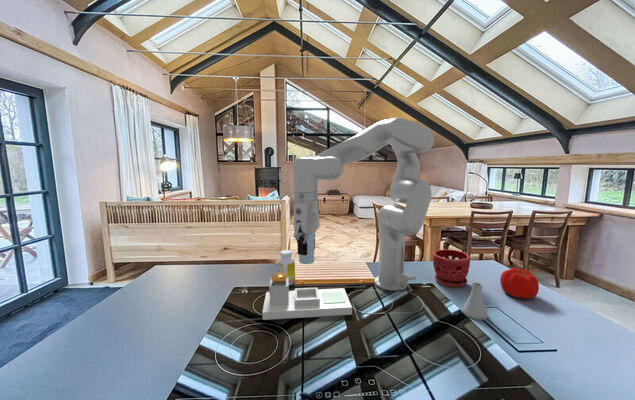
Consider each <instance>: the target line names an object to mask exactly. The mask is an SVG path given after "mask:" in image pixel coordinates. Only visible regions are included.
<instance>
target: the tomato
mask: <svg viewBox="0 0 635 400" xmlns="http://www.w3.org/2000/svg"><path fill="white" fill-rule="evenodd" d="M499 279H500V281H499V282H500V287H501V289H502V290H503V292H504V293H505V294H508V295H510V296H512V297H513V298H514V297H515V298H517V299H532V298H535V297H537V295H538V294H539V290H540V284H539V281H538V279H537V277H536V276H535V275H534V274H532V273H531V271H530V270H528V269H524V268H523V269H521V268H520V269H519V268H517V267H516V268H514V267H512V268H510V269H507V270H504V271H503V272H502V273H501V275H500V278H499Z"/></svg>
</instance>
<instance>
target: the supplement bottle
mask: <svg viewBox="0 0 635 400" xmlns="http://www.w3.org/2000/svg"><path fill="white" fill-rule="evenodd" d="M279 254H280V257H279V258H278V260H277V265H278V268H277V269H278V271H277V273H285V274H286V277H287V278H289V286H291V285H293V284H294V283H295V282H294V280H295V281H296V263H295V262H296V261H295V257H293V256H292V255H293V251H292V250H290V249H284V250H280V253H279ZM293 282H294V283H293Z"/></svg>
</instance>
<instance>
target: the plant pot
mask: <svg viewBox="0 0 635 400" xmlns="http://www.w3.org/2000/svg"><path fill="white" fill-rule="evenodd" d="M449 257H451V258H449ZM456 258H458V259H456ZM432 262H433V263H432V265H433V270H434V272H435V275H434V279H435V280H436V282H438V283H440V285H442V286H446V287H449V288H460V287H464V286H465V285H467V283H468V279H467V276H468V275H469V271H470V263H471V256H470V255H469V253H466V252H464V251H462V250H461V251H460V250H456V249H446V248H445V249H436V250H435V251H433V253H432Z"/></svg>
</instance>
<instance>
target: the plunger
mask: <svg viewBox="0 0 635 400" xmlns="http://www.w3.org/2000/svg"><path fill="white" fill-rule="evenodd" d="M271 279H272V281H273V282H274V285H285V281H286V279H287V277H286V274H285V273H278V272H276V273H273V274H272V275H271Z"/></svg>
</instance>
